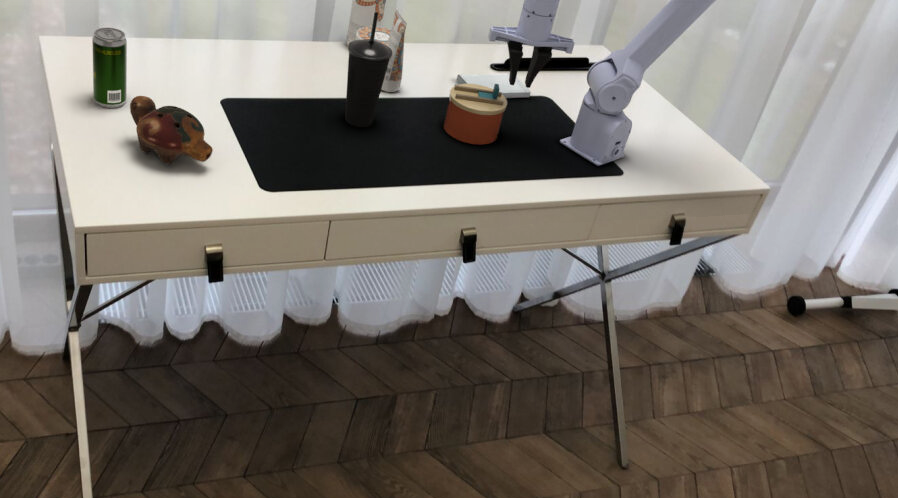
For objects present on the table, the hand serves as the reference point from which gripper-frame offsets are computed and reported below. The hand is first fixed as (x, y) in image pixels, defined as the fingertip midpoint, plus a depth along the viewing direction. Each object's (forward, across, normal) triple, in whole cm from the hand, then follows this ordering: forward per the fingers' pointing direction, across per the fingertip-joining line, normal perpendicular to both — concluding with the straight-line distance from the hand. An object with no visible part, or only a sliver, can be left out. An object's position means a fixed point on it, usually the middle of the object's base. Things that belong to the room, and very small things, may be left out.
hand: (519, 84), depth 172 cm
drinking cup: (+11, +27, +3) cm, 29 cm away
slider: (+3, +5, 0) cm, 6 cm away
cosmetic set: (+11, +24, -21) cm, 34 cm away
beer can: (+11, +69, +9) cm, 71 cm away
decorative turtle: (+11, +57, +23) cm, 62 cm away
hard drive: (+11, +1, -19) cm, 22 cm away
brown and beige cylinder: (+10, +6, 0) cm, 12 cm away
